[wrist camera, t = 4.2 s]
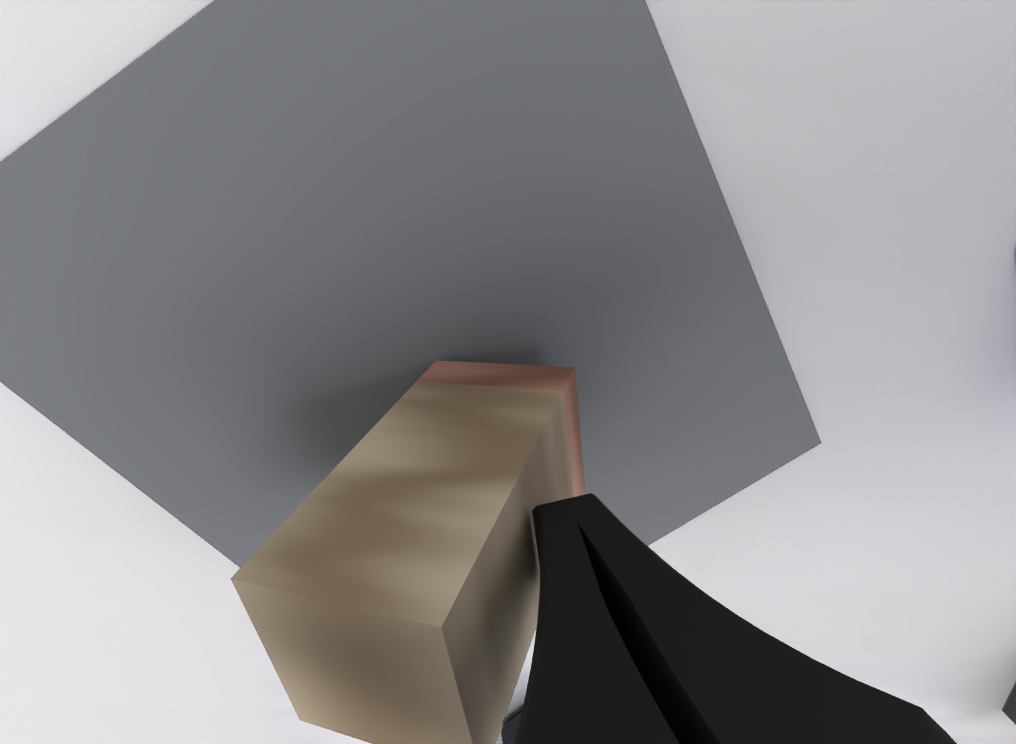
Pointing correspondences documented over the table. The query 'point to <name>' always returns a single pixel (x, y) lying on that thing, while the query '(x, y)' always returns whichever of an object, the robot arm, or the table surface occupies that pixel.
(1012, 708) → the cake mix box
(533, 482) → the maple block
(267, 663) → the table surface
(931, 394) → the table surface
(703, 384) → the mat
